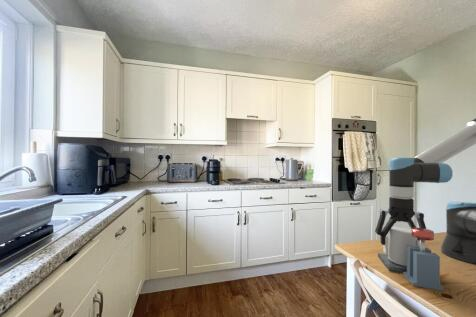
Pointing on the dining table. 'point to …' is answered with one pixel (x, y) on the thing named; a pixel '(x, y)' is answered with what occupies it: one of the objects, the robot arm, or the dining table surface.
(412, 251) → the press frame
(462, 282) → the dining table surface
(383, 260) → the press bed
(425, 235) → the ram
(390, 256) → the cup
